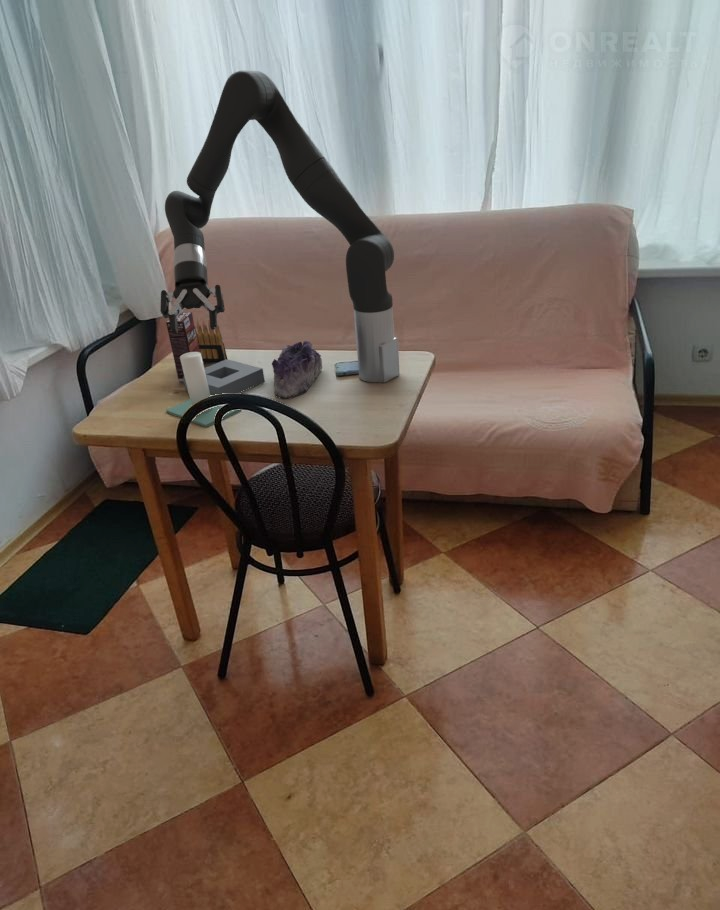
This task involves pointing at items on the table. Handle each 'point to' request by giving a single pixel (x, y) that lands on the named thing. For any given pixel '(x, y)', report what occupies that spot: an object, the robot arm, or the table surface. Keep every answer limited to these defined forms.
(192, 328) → the supplement box
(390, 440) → the table surface
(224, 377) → the grey square socket block
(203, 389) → the plug
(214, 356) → the ammunition clip
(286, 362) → the geode
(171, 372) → the table surface
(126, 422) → the table surface
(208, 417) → the mat
